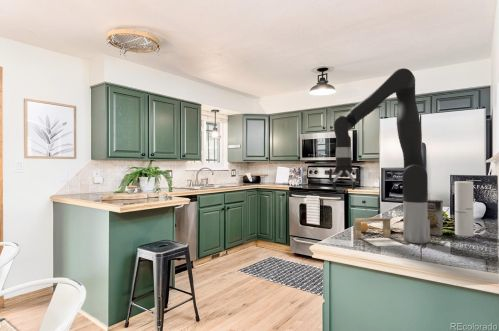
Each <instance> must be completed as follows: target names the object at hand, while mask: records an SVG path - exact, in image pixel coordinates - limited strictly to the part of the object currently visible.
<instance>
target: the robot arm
mask: <svg viewBox="0 0 499 331" xmlns="http://www.w3.org/2000/svg"><path fill="white" fill-rule="evenodd" d="M393 95H395V96H396V97H395V98H396V101H397V109H396V110H397V112H396V130H397V136H398V140H399V144H400V148H401V150H402V156H403V172H402V205H403V206H402V207H403V208H402V209H403V214H402V215H403V221H402V222H403V224H402V225H403V240H404V241H405V242H408V243H412V244H427V243H430V242H431V234H430V220H428V213H427V200H428V195H429V194H428V191H429V190H428V189H429V188H428V172H427V170H426V168H425V165H424V160H423V154H422V145H423V144H422V143H423V141H422V139H423V137H422V136H423V134H422V125H421V120H420V119H421V118H420V114H419V110H418V105H417V101H416V99H417V98H416V78H415V75H414V73H413V72H412V71H411V70H410V69H408V68H404V67H403V68H397V70H395V71H394V72H393V73H392V74H391V75H390V76H389V77H388V78H386V80H385V81H384V82H383V83H381V85H379V86H378V87H377V88H376V89H375V90H374V91H372V92H371V93H370V94H369V95H367V96H366V97H365V98H364V99H363V100H361V101H360V102H358V103H357V104H356V105H354V106H353V107H352V108H351V109H350V112H349V113H348V114H347V115H338V116H337V117H336V118H335V119H334V121H333V131H334V135H335V138H336V140H335V168H329V171H328V180H329V181H331V182H332V189H334V190H337V182H336V181H337V180H338V178H350V180H351V190H355V189H356V182H359V181H360V171H359V168H352V167H353V166H352V164H353V163H352V162H353V155H352V154H353V153H352V139H351V136H350V135H349V131H351V129H353V128H354V127H355V126H356V125H357V124H359V122H360V121H361V120H362V119H364V118H366V117H367V116H368V115H369V114H371V113H372V112H374V111H375V110H376V109H377V108H378V107H379V106H380V105H381V104H382V103H383V102H384V101H385V100H386V99H387V98H389V97H390V96H393ZM334 172H335V173H336V175H335V176H334V178H333V177H332V176H333V173H334ZM353 172H354V174H355V178H354V177H353V175H352V173H353Z"/></svg>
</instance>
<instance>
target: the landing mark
mask: <svg viewBox="0 0 499 331" xmlns="http://www.w3.org/2000/svg"><path fill="white" fill-rule="evenodd" d="M362 240H363V241H364V242H367V243H369V244H370V245H372V246H375V247H400V246H401V247H402V246H403V247H404V246H405V244H403V243H400V242H399V241H397V240H394V239H391V238H386V237H384V238H383V237H382V238H381V237H380V238H362Z"/></svg>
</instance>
